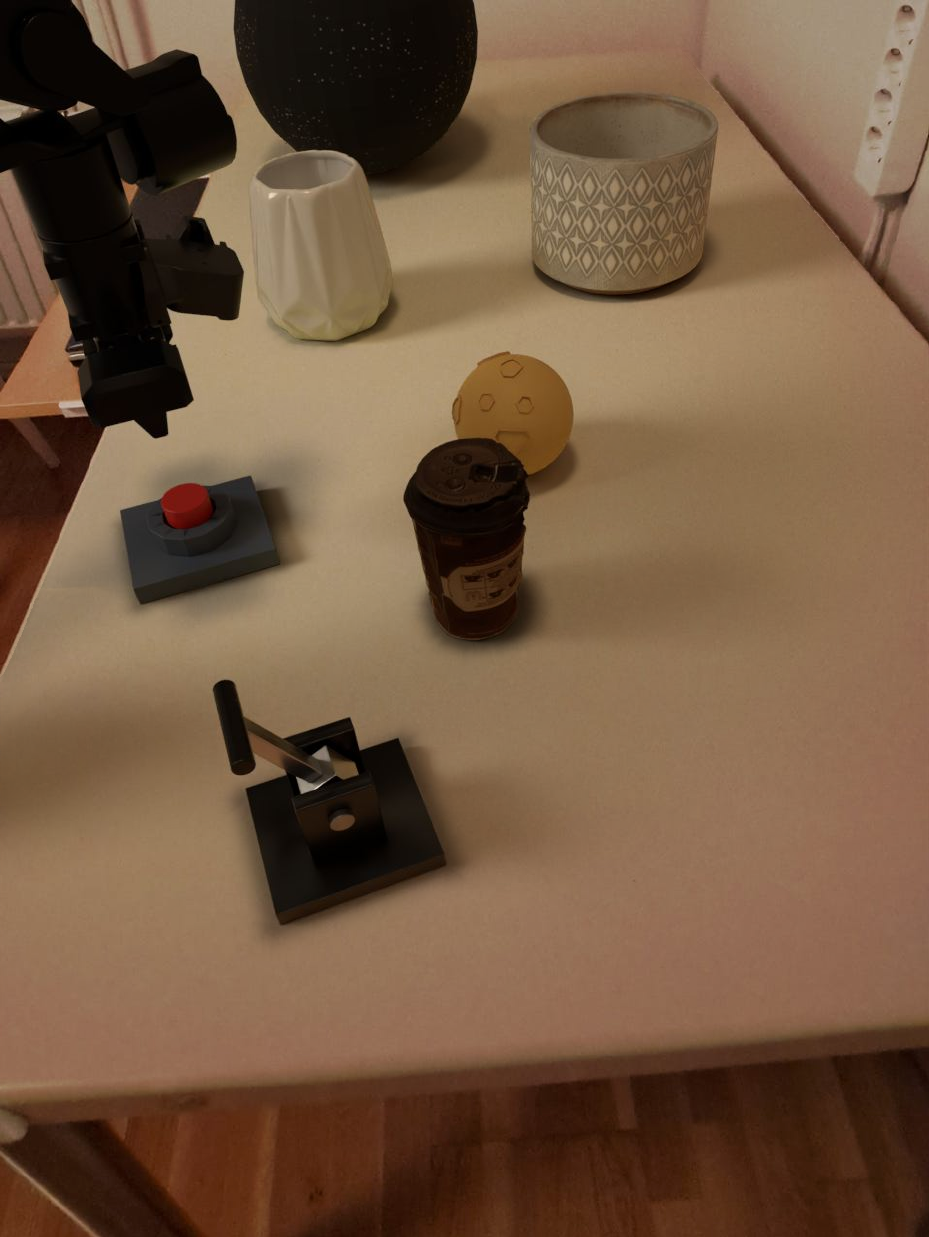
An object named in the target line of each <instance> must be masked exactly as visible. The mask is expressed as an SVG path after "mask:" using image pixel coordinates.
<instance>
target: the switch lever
mask: <svg viewBox="0 0 929 1237" xmlns="http://www.w3.org/2000/svg"><path fill="white" fill-rule="evenodd" d="M212 694H213V699H214V703H215V707H216V711H217V715H218V720H219V725H220V728H221V729H220V730H221V733H222V737H223V741H224V742H223V743H224V745H225V750H226V754H227V759H228V764H229V767H230V771H231V773H232V774H233V775H235V776H239V777H240V776H241V777H242V776H247V775H249V774H251V773H252V772H254V771H255V769H256V768H257V763H256V758H255V755H257V756H258V757H259V758H262V759H263V760H265V761H267V762H269V763H271V764H273V765H275V766H276V767H278V768H280V769H282V770H284V771H287V772H289V773H291V774H293V775H295V776H296V779H297V782H298V786H299V789H300V793H301V794H302V793H305V792H308V791H311V790H314V789H317V788H320V787H323V786H326V785H329V784H332V783H335V782H338V781H341V780H344V779H347V778H350V777H353V776H356V775H359V774H358V771H357V768H356V765H355V763H354V762H353V761H351V760H350V759H348V758H346V757H345V756H343V755H341V754H340V753H338V752H336V751H335V750H333V749H332V748H330V747H328V746H327V745H325V746H324V747H322V748H321V749H320V750H318V751H317V752H316V753H314V754H313V755H310V754H308V753H306V752H304V751H303V750H301V749H299V748H298V747H296V746H294V745H293V744H291V743H289V742H287V741H286V740H284V739H283V737H280V736H279V735H277V734H275V733H274V732H272V731H271V730H268V729H267V728H265V727H264V726H262V725H260V724H259V723H256V722H255V721H254V720H252V719H250V718H248V717H246V716H245V714H244V712H243V708H242V707H243V706H242V704H241V701H240V696H239V692H238V688H237V684H236V683H235V682H234V681H233V680H231V679H221V680H219V681H217V682H216V683H215V684H214V685H213V687H212Z"/></svg>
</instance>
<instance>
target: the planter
mask: <svg viewBox="0 0 929 1237" xmlns="http://www.w3.org/2000/svg"><path fill="white" fill-rule="evenodd" d="M718 132H719V121H718V117H717V116H716V115H715V114H714V113H713V112H712V111H711V110H710V109H708V108H707V107H705V106H704V105H702V104H701V103H698V102H696V101H693V100H690V99H687V98H683V97H680V96H677V95H676V96H675V95H670V94H664V93H655V92H644V91H643V92H641V91H619V92H617V91H616V92H605V93H596V94H591V95H584V96H580V97H576V98H572V99H568V100H565V101H563V102H559V103H557V104H555V105H552V106H550V107H548V108H546V109H545V110H543V111H542V112H540V113H539V114H538V115H537V116H535V118H534V119H533V121H532V122H531V124H530V127H529V143H530V144H529V148H530V149H529V150H530V157H529V158H530V159H529V160H530V228H531V229H530V230H531V233H530V235H531V236H530V237H531V241H530V242H531V257H532V261H533V263H534V264H535V265H536V267H537V268H538V269H539V270H540V271H541V272H543V273H544V274H545V275H546V276H548V277H550V278H552V279H553V280H555V281H558V282H560V283H562V284H564V285H566V286H568V287H571V288H573V289H575V290H578V291H581V292H586V293H591V294H596V295H597V294H599V295H611V296H612V295H613V296H614V295H615V296H616V295H619V296H620V295H630V294H631V295H632V294H638V293H645V292H648V291H651V290H654V289H657V288H660V287H663V286H664V285H666V284H669V283H671V282H673V281H676V280H678V279H680V278H682V277H683V276H686V275H687V274H688V273H690V272H691V271H692V270H693V269H695V268H696V267H697V265H698V264H699V262H701V258H702V256H703V253H704V245H705V237H706V229H707V222H708V221H707V220H708V214H709V205H710V196H711V190H712V180H713V173H714V165H715V156H716V150H717V149H716V147H717V140H718Z"/></svg>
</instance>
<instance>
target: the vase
mask: <svg viewBox="0 0 929 1237" xmlns="http://www.w3.org/2000/svg"><path fill="white" fill-rule="evenodd" d="M248 185H249V186H248V200H249V214H250V215H249V217H250V230H251V245H252V257H253V258H252V259H253V267H254V268H253V270H254V278H255V287H256V292H257V300H258V301H259V303H260V304H261V306H262V307H263V309H264V310H265V311H266V312H267V314H268V315H270V317H271V320H272V321H273V322H274V323H275V324H276V325H277V326H278V327H280V328H281V329H283V330H285V331H287V332H288V333H289V335H291V336H292V337H294V338H296V339H299V340H311V341H328V342H329V341H330V342H331V341H332V342H333V341H335V342H336V341H339V340H342V339H346V338H348V337H351V336H353V335H355V334H359V333H361V332H363V331H365V330H368V329H371V328H372V327H373V326H374V325H375V324H376V323H377V321H378V319H379V316H380V315H381V314H382V313H383V312H385V310H386V309H387V307H388V306H389V299H390V293H391V290H392V288H393V287H392V286H393V282H394V279H393V278H394V277H393V269H392V264H391V260H390V256H389V252H388V249H387V244H386V241H385V238H384V233H383V230H382V227H381V223H380V220H379V216H378V213H377V209H376V206H375V203H374V200H373V196H372V193H371V190H370V186H369V182H368V180H367V177H366V174H364V171H363V169H362V167H361V166H360V164H359V163H358V162H357V161H356V160H355V159H354V158H352V157H349V156H348V155H347V154H344V153H340V152H337V151H329V150H322V151H318V150H309V151H302V152H297V151H295V152H288V153H286V154H284V155H279V156H276V157H274V158H271V159H269V160H266V161H265V162H264V163H263V164H261V165H260V166H258V168H257V170H255V171H254V173H253V174H252V176H251V178H250V180H249V184H248Z"/></svg>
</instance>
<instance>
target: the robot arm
mask: <svg viewBox="0 0 929 1237" xmlns="http://www.w3.org/2000/svg"><path fill="white" fill-rule="evenodd" d="M0 101H3V102H7V103H11V104H15V105H19V106H22V107H27V108H29V109H35V110H36V111H33V112H30V113H27V114H23V115H21V116H18V117H15V118H12V119H9V120H7V121H5V120H4V119H2V118H1V117H0V174H2V173H4V172H5V173H6V172H8V171H10V172H11V174H12V177H13V179H14V181H15V184H16V187H17V189H18V192H19V193H20V196H21V200H22V201H23V204H24V206H25V209H26V211H27V214H28V216H29V219H30V221H31V224H32V226H33V229H34V231H35V234H36V236H37V239H38V241H39V244H40V247H41V249H42V256H43V265H44V267H45V270H46V273H47V275H48V277H49V279H50V281H55V284H56V286H57V288H58V291H59V293H60V296H61V298H62V302H63V303H64V306H65V308H66V311H67V317H68V324H69V330H70V331H71V334H72V337H73V339H74V341H75V343H78V342H81V344H82V351H83V355H84V357H85V358H84V359H83V361H82V363H81V364H80V366H79V368H78V369H77V378H78V385H79V392H80V398H81V401H82V404H83V406H84V409H85V411H86V413H87V417H88V419H89V420H90V423H91V426H94V427H98V428H101V429H103V428H108V427H112V426H116V425H119V424H124V423H128V422H132V421H134V422H135V423H136V424H137V425H138V426H139V427H140V428H141V429H143V431H145V432H146V433H147V434H148V435H149V436H150V437H152V438H153V439H160V438H165V437H168V435H169V423H168V412H172V411H177V410H180V409H181V410H182V409H183V408H187V407H188V406H189V405H190V404H192V403H193V402H194V401H195V399H194V395H193V392H192V389H191V386H190V381H189V378H188V376H187V372H186V368H185V366H184V362H183V359H182V356H181V353H180V350H179V347H178V346H177V344H172V343H170V342H171V340H172V339H173V337H174V332H173V330H172V326H171V324H172V320H171V316H170V313H169V311H171V312H174V313H178V314H185V315H193V316H195V315H196V316H205V317H214V318H215V317H216V318H217V319H218V320H219V321H227V322H229V321H235V320H238V319H239V317H240V311H241V310H240V309H241V308H240V307H241V300H242V292H243V284H244V275H245V270H244V268H243V266H242V263H241V261H240V259H239V257H238V254H237V253H236V251H235V250H234V249H232V248H231V247H229V246H228V244H227V242H226V241H222V240H220V241H219V243H218V244H216V242H215V241H214V238H213V236H212V233H211V230H210V228H209V226H208V223H207V221H206V219H205V218H204V217H198V216H191V215H183V216H182V217H181V218H180V220H179V222H178V223H177V224H176V226H175V228H174V229H173V230H172V232H171V233H170V234H169V233H164V234H163V239H161V238H150V237H146V236H145V233H144V230H143V226H142V223H141V221H140V220H141V219H139V218H138V219H135V216H134V213H133V212H132V210H131V207H130V203H129V200H128V196H127V193H126V190H125V187H124V184H123V182H125V183H126V184H128V185H131V186H133V185H136V186H137V187H138V188H139V189H140V190H141V191H143V192H144V193H145V194H147V195H149V196H158V195H161V194H163V193H166V192H168V191H170V190H173V189H175V188H178V187H180V186H182V185H185V184H187V183H191V182H192V181H195V180H197V179H199V178H202V177H205V176H206V175H209V174H212V173H214V172H216V171H218V170H221V169H224V168H226V167H229V166H230V165H231V164H233V162H234V160H235V159H236V155H237V151H238V139H237V138H238V137H237V132H236V127H235V122H234V119H233V117H232V116H231V114H229V113H228V110H227V109H226V106H225V104H224V102H223V100H222V98H221V96H220V95H219V93H218V92H217V90H216V89H215V87H214V86H213V84H212V83H211V82H210V81H209V80H208V79H207V78H206V77H205V76H204V75H203V72H202V68H201V64H200V59H199V56H197V55H196V54H195V53H191V52H188V51H185V50H181V49H178V48H176V49H173V50H170V51H167V52H164V53H162V54H160V55H158V56H157V57H156V58H154V59H153V60H151V61H149V62H146V63H143V64H141V65H136V66H134V67H132V68H127V69H123V68H122V66H120V65H119V64H118V63H117V62H116V61H114V59H112V58H111V57H110V56H109V54H107V53H106V52H105V51H104V50H103V49H102V48H101V47H100V46H99V45H97V44H96V43H95V42H94V41H93V35H92V32H91V31H90V28H89V26H88V23H87V21H86V19H85V16H84V15H83V14H82V12H81V11H80V10H79V8H78V7H77V6H76V4H75V3H74V2H73V0H0ZM78 103H82V104H84V105H86V106H87V105H88V106H90V107H92V108H89V109H86V110H84V111H80V112H78V113H74V114H71V115H67V116H65V115H63V114H62V113H61V112H62V111H67V110H69V109H71V108H73V107H75V106H76V105H78Z"/></svg>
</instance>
